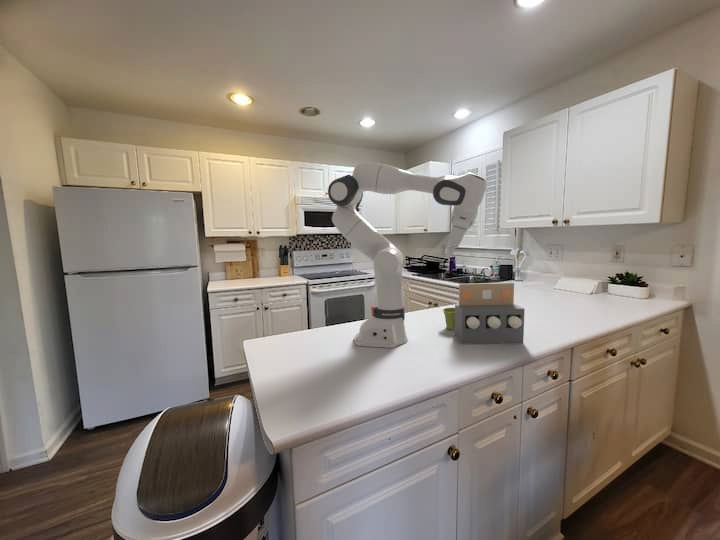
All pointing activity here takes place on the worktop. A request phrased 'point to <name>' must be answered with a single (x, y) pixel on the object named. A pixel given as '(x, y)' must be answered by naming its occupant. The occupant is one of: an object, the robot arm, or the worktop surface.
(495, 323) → the middle button
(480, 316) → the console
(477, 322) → the left button
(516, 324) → the right button
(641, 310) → the worktop surface
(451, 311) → the plant pot
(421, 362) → the worktop surface
